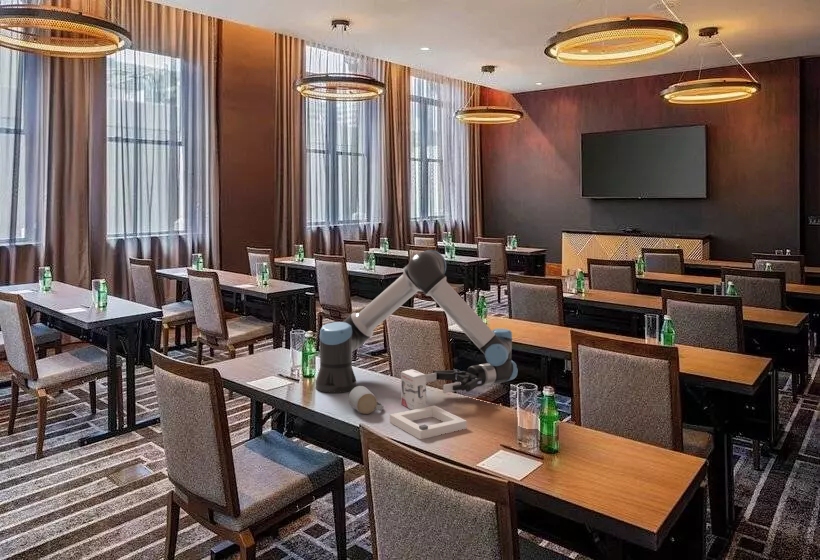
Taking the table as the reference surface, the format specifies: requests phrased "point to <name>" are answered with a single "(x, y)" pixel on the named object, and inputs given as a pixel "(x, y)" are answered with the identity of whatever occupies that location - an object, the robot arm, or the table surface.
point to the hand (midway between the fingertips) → (431, 384)
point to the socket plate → (424, 431)
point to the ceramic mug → (364, 400)
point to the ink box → (413, 389)
